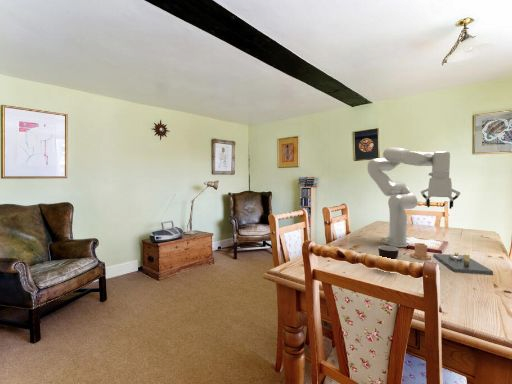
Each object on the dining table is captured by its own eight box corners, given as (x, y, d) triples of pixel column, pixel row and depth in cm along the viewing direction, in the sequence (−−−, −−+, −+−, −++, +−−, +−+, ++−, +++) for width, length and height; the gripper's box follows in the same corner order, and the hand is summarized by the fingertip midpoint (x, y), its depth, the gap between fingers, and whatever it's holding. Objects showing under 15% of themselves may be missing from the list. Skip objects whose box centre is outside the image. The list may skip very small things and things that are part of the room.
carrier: (454, 272, 122) (454, 256, 121) (433, 256, 144) (433, 243, 144) (492, 274, 118) (493, 259, 118) (465, 258, 141) (465, 245, 140)
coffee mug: (390, 273, 121) (390, 251, 120) (373, 267, 129) (374, 247, 128) (406, 268, 126) (406, 248, 126) (389, 263, 134) (390, 243, 133)
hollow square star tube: (413, 259, 140) (413, 246, 139) (406, 253, 149) (407, 241, 149) (435, 260, 137) (435, 247, 137) (427, 254, 147) (427, 242, 147)
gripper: (420, 175, 143) (419, 207, 144) (460, 175, 132) (459, 209, 133) (422, 175, 148) (421, 205, 150) (461, 175, 137) (460, 208, 139)
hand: (439, 207), depth 141 cm, fingers open, 9 cm apart
